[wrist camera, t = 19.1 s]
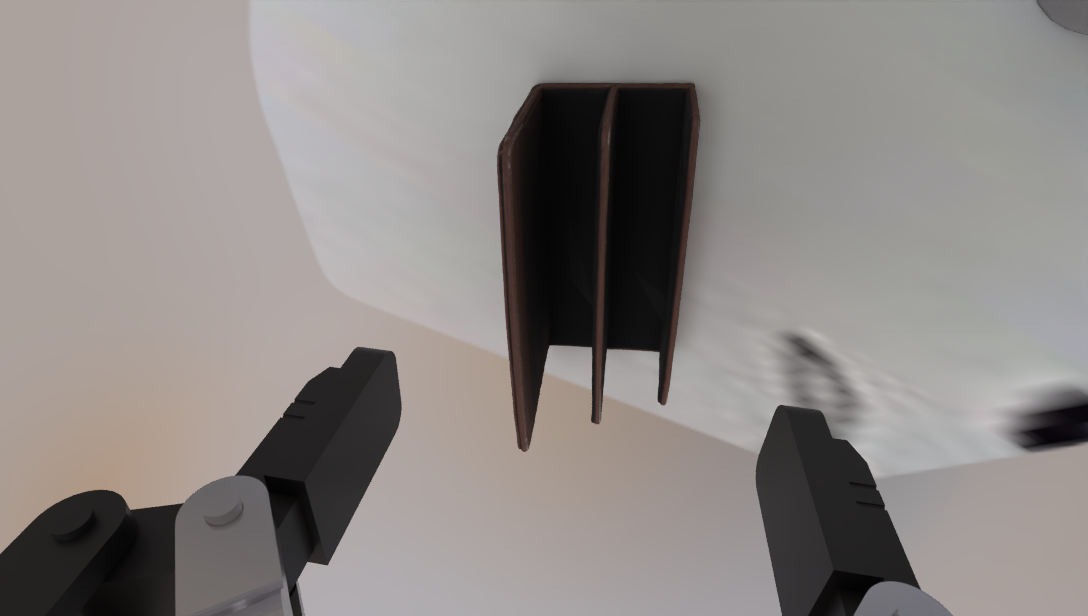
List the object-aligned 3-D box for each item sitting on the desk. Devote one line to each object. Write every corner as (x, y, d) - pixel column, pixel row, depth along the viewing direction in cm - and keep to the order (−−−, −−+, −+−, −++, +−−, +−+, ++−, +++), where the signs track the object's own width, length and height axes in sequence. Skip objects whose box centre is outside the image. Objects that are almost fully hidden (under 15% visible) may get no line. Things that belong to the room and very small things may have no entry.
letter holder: (543, 336, 46) (508, 469, 35) (534, 81, 36) (479, 147, 24) (667, 345, 45) (674, 486, 33) (696, 81, 34) (721, 152, 23)
